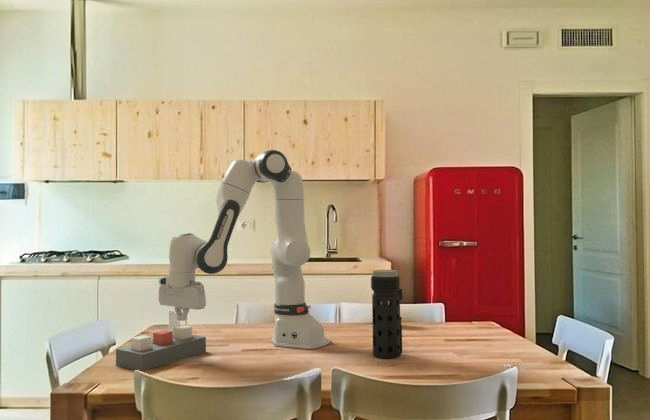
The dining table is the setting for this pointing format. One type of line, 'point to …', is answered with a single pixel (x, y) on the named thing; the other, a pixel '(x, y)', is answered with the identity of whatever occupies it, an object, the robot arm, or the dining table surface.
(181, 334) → the white button right
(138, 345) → the white button left
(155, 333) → the red button
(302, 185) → the robot arm
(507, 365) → the paper
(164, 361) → the button console
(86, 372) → the dining table surface
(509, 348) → the dining table surface
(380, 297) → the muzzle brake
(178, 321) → the white angled block
